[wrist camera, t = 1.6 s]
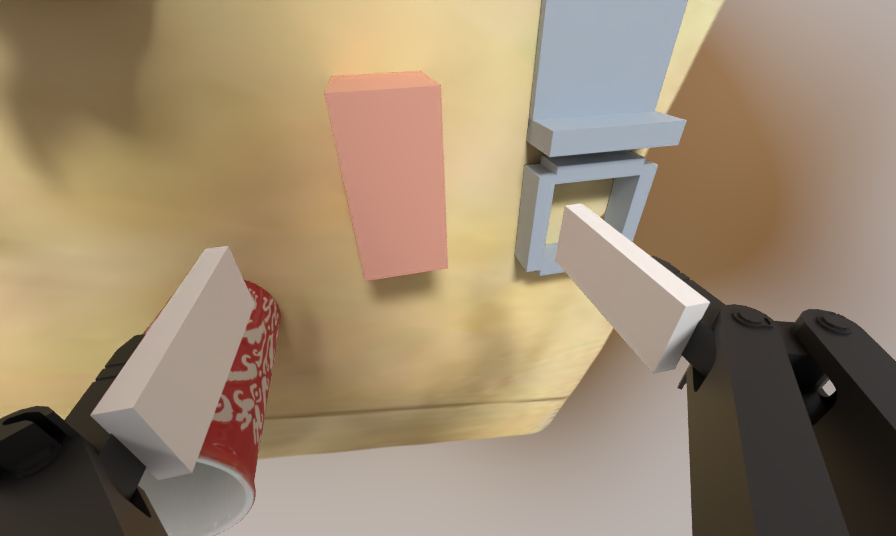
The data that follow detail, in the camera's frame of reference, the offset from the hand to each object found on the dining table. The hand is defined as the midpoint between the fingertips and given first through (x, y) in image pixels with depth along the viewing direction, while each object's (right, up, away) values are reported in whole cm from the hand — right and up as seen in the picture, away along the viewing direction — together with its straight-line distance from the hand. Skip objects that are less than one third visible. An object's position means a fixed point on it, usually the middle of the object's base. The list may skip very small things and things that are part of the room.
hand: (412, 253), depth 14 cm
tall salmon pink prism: (-2, +6, +9) cm, 11 cm away
